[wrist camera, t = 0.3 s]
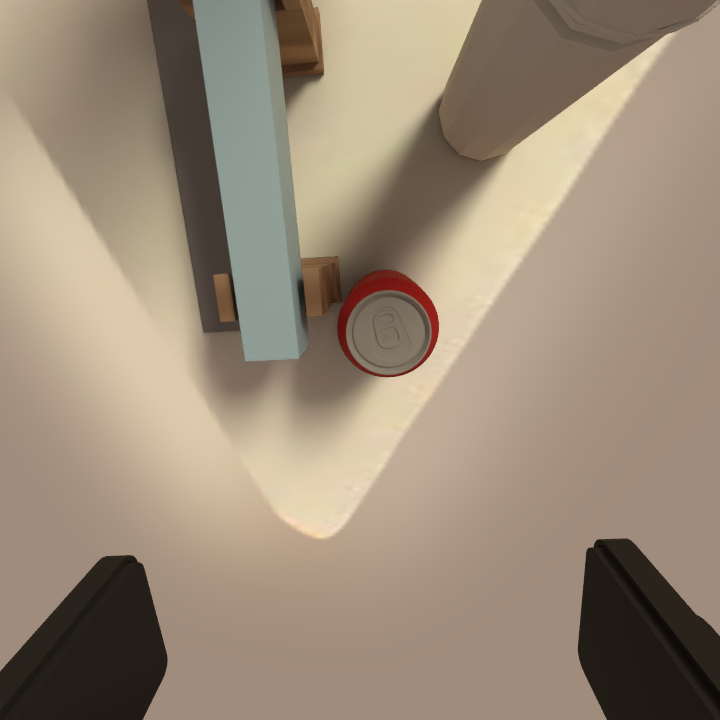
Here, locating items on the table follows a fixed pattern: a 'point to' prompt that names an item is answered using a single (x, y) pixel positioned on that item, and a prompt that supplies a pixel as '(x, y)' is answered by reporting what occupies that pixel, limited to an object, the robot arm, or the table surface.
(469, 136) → the water bottle
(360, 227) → the table surface
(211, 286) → the mat
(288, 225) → the rail
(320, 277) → the post
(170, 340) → the table surface
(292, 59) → the post
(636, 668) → the robot arm
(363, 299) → the beverage can
